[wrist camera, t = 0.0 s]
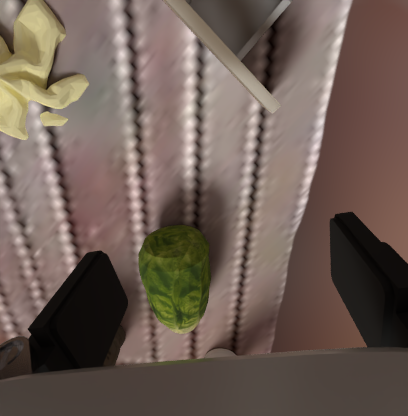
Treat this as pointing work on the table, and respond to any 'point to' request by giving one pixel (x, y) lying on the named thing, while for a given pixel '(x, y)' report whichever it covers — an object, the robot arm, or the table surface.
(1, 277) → the table surface
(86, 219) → the table surface
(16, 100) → the cloth
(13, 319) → the table surface
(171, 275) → the lettuce
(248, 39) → the wall board holder
